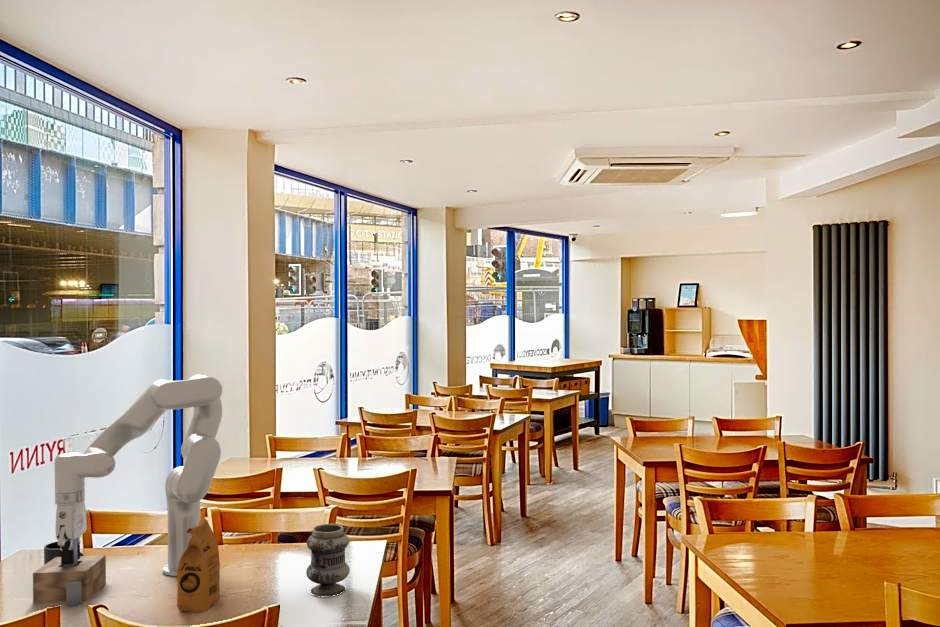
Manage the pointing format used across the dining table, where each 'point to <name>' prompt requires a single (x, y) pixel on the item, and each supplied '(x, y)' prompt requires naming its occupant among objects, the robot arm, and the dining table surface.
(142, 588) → the dining table surface
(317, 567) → the apothecary jar
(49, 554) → the mug
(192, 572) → the coffee package
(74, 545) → the tall pin
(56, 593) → the hole block
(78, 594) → the short pin
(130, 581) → the dining table surface
